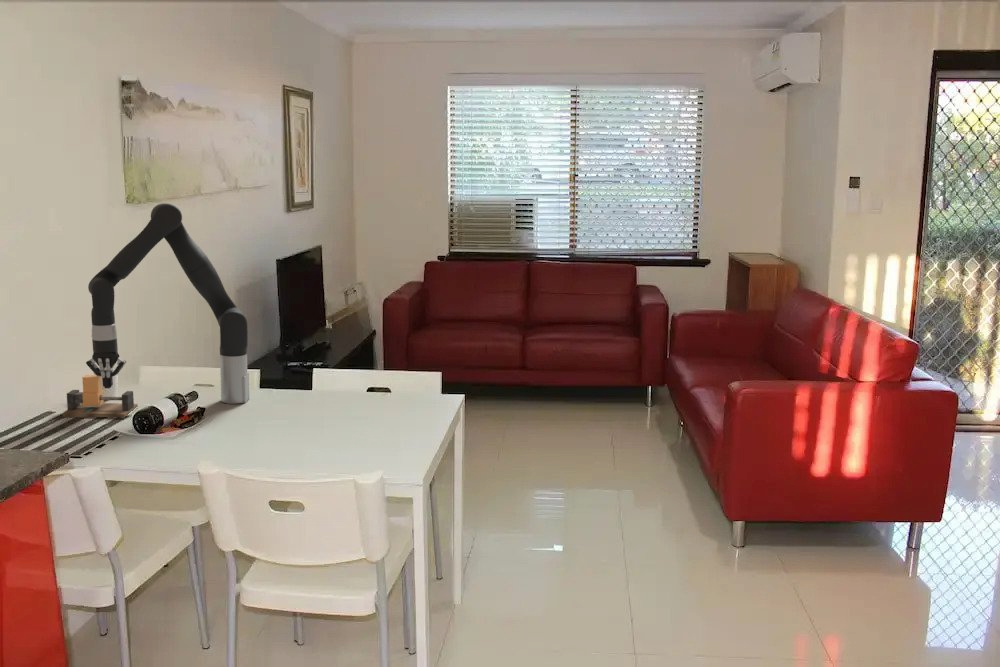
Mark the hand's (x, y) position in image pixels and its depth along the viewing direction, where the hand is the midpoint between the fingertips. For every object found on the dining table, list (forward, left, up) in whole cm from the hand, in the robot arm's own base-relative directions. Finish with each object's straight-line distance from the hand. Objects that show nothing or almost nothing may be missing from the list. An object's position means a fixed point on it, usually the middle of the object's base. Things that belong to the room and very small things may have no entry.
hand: (107, 387), depth 301 cm
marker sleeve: (+5, 0, -6) cm, 8 cm away
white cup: (+8, -18, -9) cm, 22 cm away
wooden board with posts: (+3, 0, -9) cm, 9 cm away
